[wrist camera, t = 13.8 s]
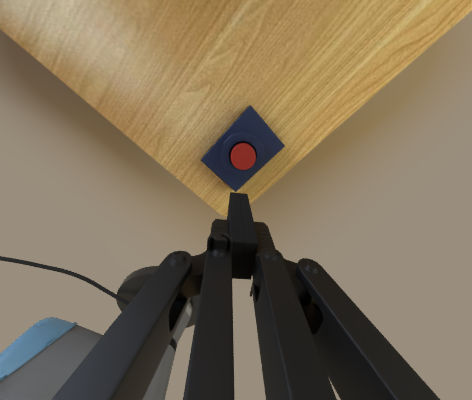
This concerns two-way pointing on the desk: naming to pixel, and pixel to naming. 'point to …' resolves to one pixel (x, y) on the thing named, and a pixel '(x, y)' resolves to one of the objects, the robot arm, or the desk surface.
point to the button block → (242, 131)
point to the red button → (243, 156)
